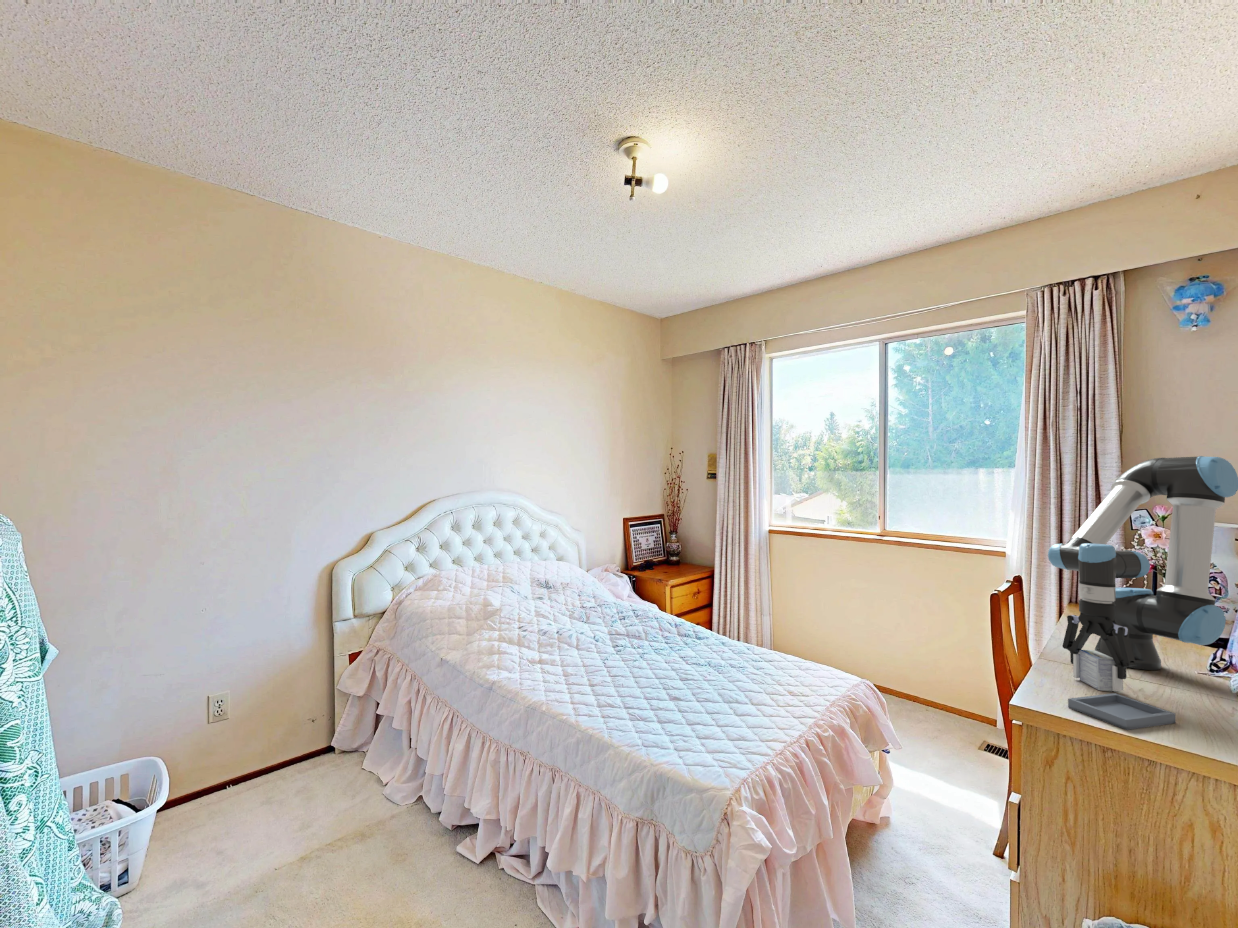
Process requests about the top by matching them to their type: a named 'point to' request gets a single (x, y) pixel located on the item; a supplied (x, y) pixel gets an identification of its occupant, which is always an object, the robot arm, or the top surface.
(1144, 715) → the tray
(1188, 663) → the top surface
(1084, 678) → the medicine box
